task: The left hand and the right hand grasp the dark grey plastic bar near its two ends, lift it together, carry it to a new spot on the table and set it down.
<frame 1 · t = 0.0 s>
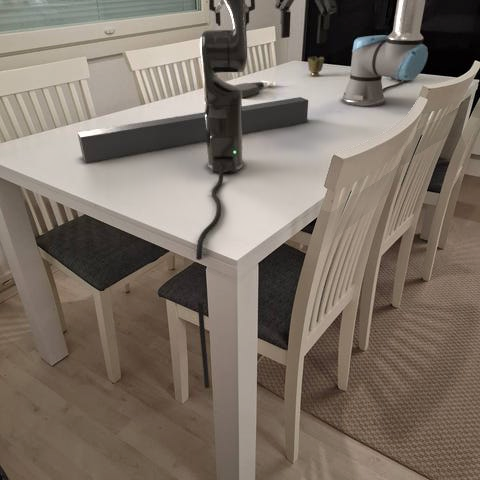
left hand: (232, 25, 142), 29 cm above the table, tool pointing down, fingers open, 8 cm apart
right hand: (302, 40, 122), 28 cm above the table, tool pointing down, fingers open, 13 cm apart
spray bottle: (251, 91, 188), on the table
bar: (204, 138, 139), on the table
squiggle: (399, 80, 200), on the table
cup: (314, 75, 211), on the table
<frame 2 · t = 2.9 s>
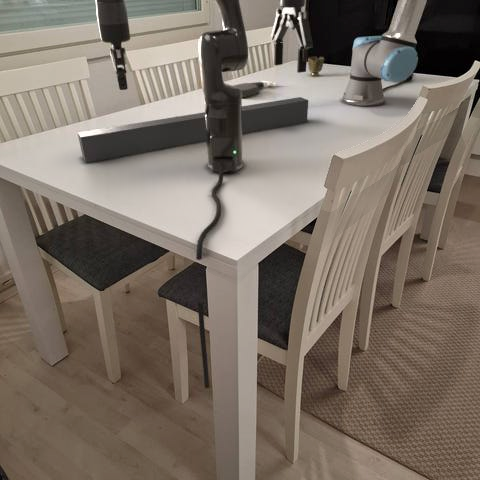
left hand: (122, 85, 123), 18 cm above the table, tool pointing down, fingers open, 8 cm apart
right hand: (289, 68, 141), 18 cm above the table, tool pointing down, fingers open, 13 cm apart
nothing on the table moved.
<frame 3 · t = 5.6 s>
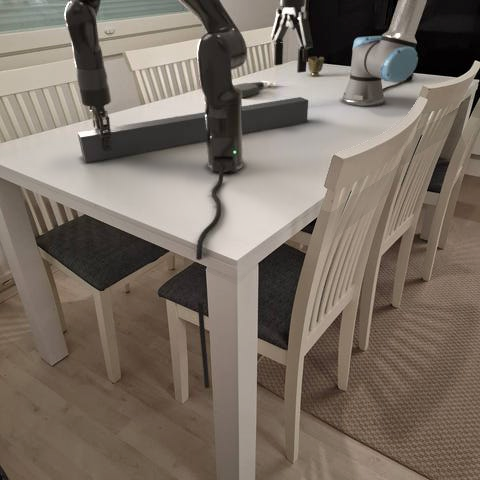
left hand: (105, 147, 126), 3 cm above the table, tool pointing down, fingers closed on bar, 4 cm apart
right hand: (289, 68, 141), 18 cm above the table, tool pointing down, fingers open, 13 cm apart
bar: (204, 138, 139), on the table, touching left hand
everything else where it was.
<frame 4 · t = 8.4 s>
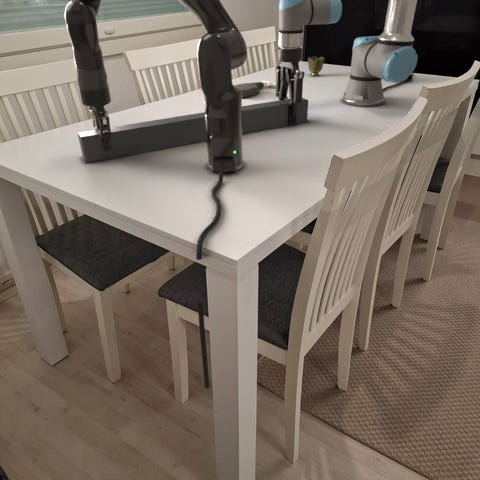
left hand: (105, 147, 126), 3 cm above the table, tool pointing down, fingers closed on bar, 4 cm apart
right hand: (287, 121, 150), 1 cm above the table, tool pointing down, fingers closed on bar, 5 cm apart
bar: (204, 138, 139), on the table, touching left hand, right hand
everything else where it was.
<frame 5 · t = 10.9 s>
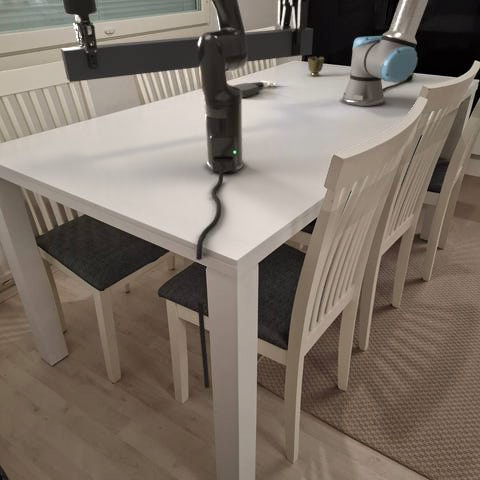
left hand: (91, 66, 115), 24 cm above the table, tool pointing down, fingers closed on bar, 4 cm apart
right hand: (290, 53, 139), 22 cm above the table, tool pointing down, fingers closed on bar, 5 cm apart
bar: (201, 65, 128), point 21 cm above the table, touching left hand, right hand
everything else where it was.
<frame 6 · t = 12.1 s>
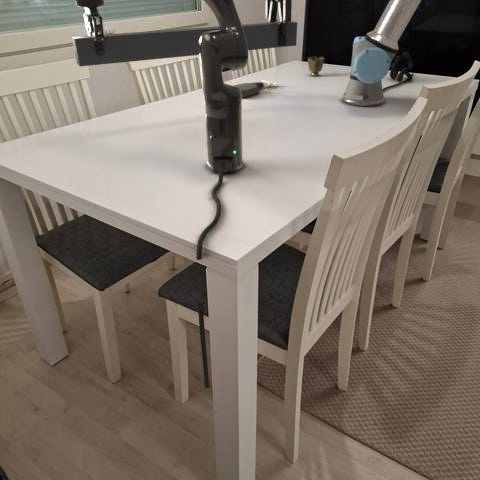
left hand: (98, 53, 131), 24 cm above the table, tool pointing down, fingers closed on bar, 4 cm apart
right hand: (277, 44, 155), 22 cm above the table, tool pointing down, fingers closed on bar, 5 cm apart
bar: (195, 54, 143), point 22 cm above the table, touching left hand, right hand
everything else where it was.
when the right hand's fingers open (1 cm above the table, at t = 15.9 s): bar stays where it is, on the table.
when the left hand's fingers open (3 cm above the table, at t = 16.1 s): bar stays where it is, on the table.
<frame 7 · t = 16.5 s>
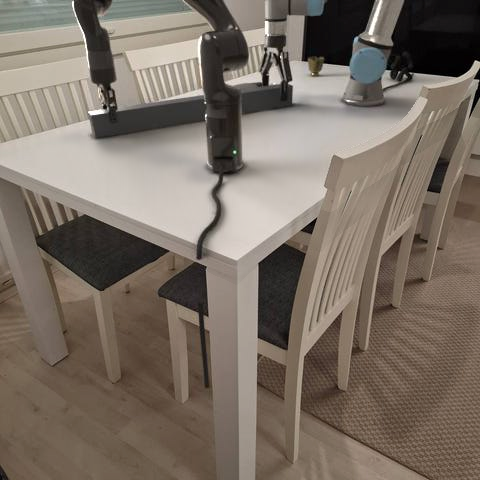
left hand: (110, 119, 143), 4 cm above the table, tool pointing down, fingers open, 8 cm apart
right hand: (274, 97, 166), 3 cm above the table, tool pointing down, fingers open, 13 cm apart
bar: (200, 118, 156), on the table
everything else where it was.
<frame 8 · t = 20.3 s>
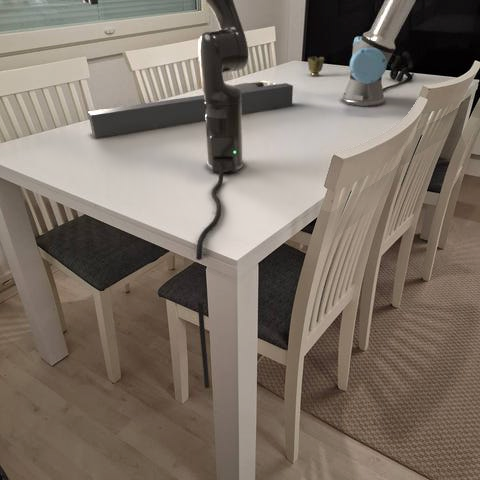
left hand: (90, 3, 125), 37 cm above the table, tool pointing down, fingers open, 8 cm apart
nothing on the table moved.
at the end: bar inside the target area (0.4 cm from its centre), on the table; bar tilted 0°; bar never tilted more than 2° during the clip; both hands held the bar at the same time; the left hand is holding nothing; the right hand is holding nothing; bar at rest at the end (0.0 cm/s) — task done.
